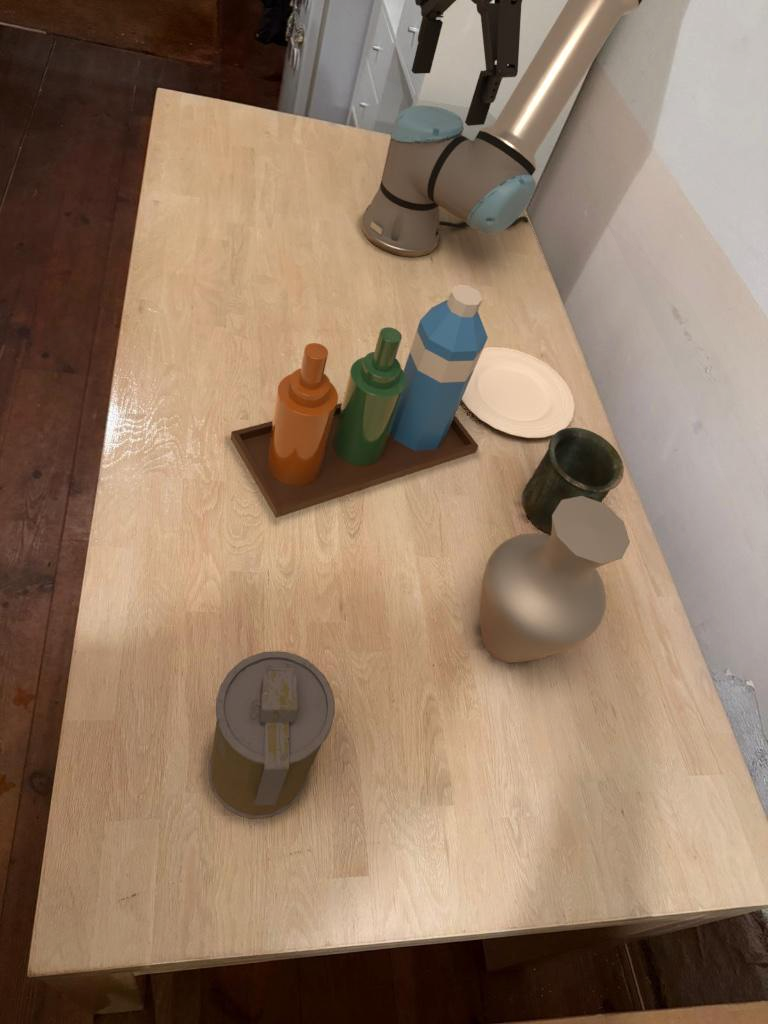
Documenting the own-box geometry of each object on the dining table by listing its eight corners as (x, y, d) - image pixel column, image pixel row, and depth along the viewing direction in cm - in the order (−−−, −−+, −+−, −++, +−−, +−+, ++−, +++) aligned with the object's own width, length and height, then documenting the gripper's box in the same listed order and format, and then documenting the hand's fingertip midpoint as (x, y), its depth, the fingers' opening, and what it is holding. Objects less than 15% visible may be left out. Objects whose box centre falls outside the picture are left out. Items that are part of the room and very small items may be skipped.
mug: (577, 483, 115) (613, 431, 106) (599, 562, 106) (640, 513, 97) (511, 476, 113) (542, 422, 103) (528, 557, 104) (563, 506, 95)
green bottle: (367, 421, 112) (400, 309, 96) (393, 457, 109) (431, 348, 92) (323, 433, 108) (350, 320, 92) (348, 471, 105) (380, 361, 89)
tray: (424, 389, 120) (428, 380, 118) (474, 454, 114) (478, 445, 112) (230, 441, 104) (231, 431, 103) (275, 520, 98) (277, 510, 97)
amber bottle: (305, 438, 107) (329, 324, 91) (330, 477, 104) (359, 365, 87) (257, 452, 104) (273, 335, 87) (281, 492, 100) (302, 379, 84)
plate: (583, 390, 129) (588, 382, 127) (551, 465, 116) (556, 457, 114) (476, 337, 131) (479, 329, 129) (432, 406, 118) (435, 397, 116)
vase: (531, 715, 90) (631, 616, 70) (431, 647, 92) (501, 533, 73) (575, 631, 98) (674, 522, 79) (482, 571, 101) (557, 451, 81)
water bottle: (447, 414, 117) (502, 282, 97) (444, 457, 111) (502, 327, 91) (389, 400, 116) (433, 264, 96) (384, 443, 110) (429, 308, 90)
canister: (211, 719, 81) (220, 635, 65) (306, 720, 83) (337, 638, 67) (205, 825, 74) (213, 759, 59) (308, 822, 77) (343, 758, 61)
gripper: (416, -139, 88) (378, 52, 105) (540, -48, 77) (476, 149, 94) (465, -133, 91) (421, 51, 108) (591, -45, 81) (520, 144, 97)
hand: (446, 97), depth 101 cm, fingers open, 13 cm apart
